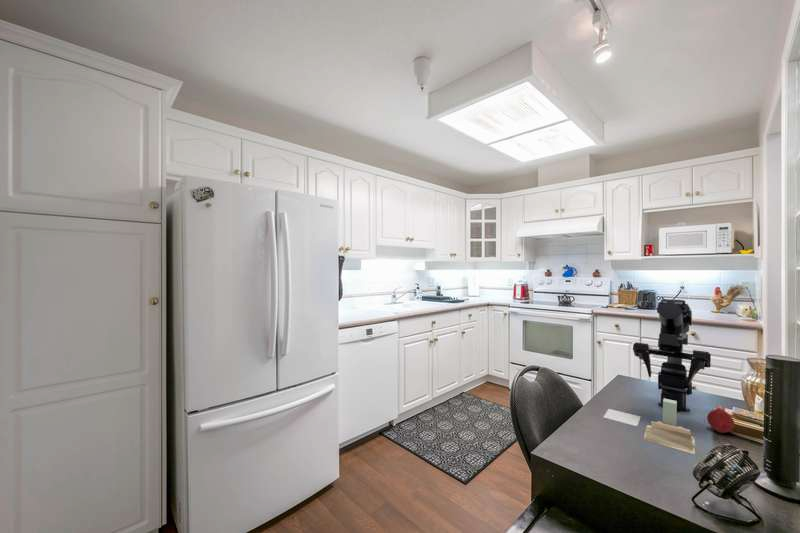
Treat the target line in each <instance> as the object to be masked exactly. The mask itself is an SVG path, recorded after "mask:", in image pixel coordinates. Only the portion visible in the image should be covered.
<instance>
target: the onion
mask: <svg viewBox="0 0 800 533" xmlns="http://www.w3.org/2000/svg"><path fill="white" fill-rule="evenodd" d="M706 420H707V422H708V424H709V425H710V427H712V429H714V430H715V431H716V432H718V433H720V434H724V433H725V434H726V433H729V432H731V431H732V430H733V429H734V427H735V421H734V418H733V417H732V415H731V414H730V413H728V412H727V411H726V410H724V407H722V405H719V406H718V407H717V408H715V409H713V410H711V411H709V413H708V414H707V417H706Z"/></svg>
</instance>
